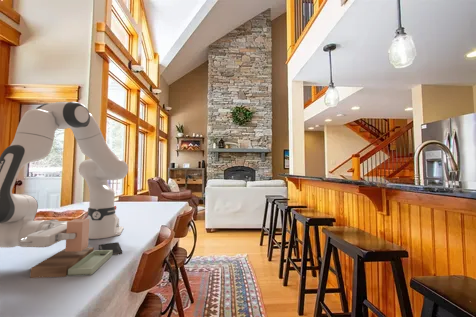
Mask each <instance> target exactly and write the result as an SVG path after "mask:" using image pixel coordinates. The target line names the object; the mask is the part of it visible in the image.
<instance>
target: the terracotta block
mask: <svg viewBox="0 0 476 317" xmlns="http://www.w3.org/2000/svg"><path fill="white" fill-rule="evenodd" d="M89 220H90V219H86V218H75V219H71V220H69V222H67V232H66V233H77V237H76V238H74V239H67V240H65V248H66V250H65V251H82V250H84V249H85V248H89Z"/></svg>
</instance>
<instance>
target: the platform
mask: <svg viewBox="0 0 476 317" xmlns="http://www.w3.org/2000/svg"><path fill="white" fill-rule="evenodd" d="M65 250H66V247H65V248H64V249H62V250H60V251H58V252H57V253H55V254H53V255H51V256H50V257H48V258H46V259H45V260H43V261H40V262H39V263H37V264H35V265H34V266H31V268H30V276H29V278H30V279H36V278H37V279H39V278H42V279H43V278H62V277H63V278H65V277H68V269H69V268H71V267H72V266H73V265H75V264H76V263H77V262H79V261H80V260H82V259H83V258H84V257H86V256H87V255H88V254H90V253H91V252H92V251H94V247H89V246H88V247H87V248H85V249H84V250H82V251H65Z"/></svg>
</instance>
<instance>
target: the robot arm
mask: <svg viewBox="0 0 476 317" xmlns="http://www.w3.org/2000/svg"><path fill="white" fill-rule="evenodd" d="M24 112H25V113H24V114H23V115H22V118H21V119H20V121H19V123H18V124H17V125H18V126H17V128H16V132H15V135H14V138H13V140H12V142H11V144H10V145H9V146H7V147H6V148H5V149H4V150H3V152H2V153H1V154H0V248H5V249H6V248H9V249H10V248H16V247H21V248H48V247H52V246H53V245H54V244H57V243H58V242H61V241H66V240H67V239H74V238H76V237H77V233H66V232H67V222H69V221H70V220H69V221H68V220H59V219H48V220H47V219H46V220H35V219H36V216H37V215H36V214H37V212H38V209H39V208H38V207H39V204H38V200H37V199H36V198H35V197H34V196H32V195H29V194H21V193H13V189H14V186H15V184H16V181H17V179H18V177H19V174H20V171H21V170H22V169H23V167H25V166H26V165H27V164H29V163H32V162H33V163H34V162H38V161H41V160H43V159H45V158H47V157H49V154H50V152H51V150H52V148H53V144H54V140H55V133H56V131H57V130H65V129H66V130H67V129H70V130H71V131H72V134H73V137H74V138H75V140H76V141H75V142H77V145H78V147H79V149H80V151H81V153H82V154H83V155H85V156H86V157H87V158H88V159H85V160H82V161H81V162H80V164H79V166H78V172H79V175H80V176H81V177H82V178H83V179H84V180H85V183H86V184H87V187H88V192H89V202H88V203H89V205H88V208H87V209H88V210H87V217H86V218H85V219H90V220H89V239H91V240H94V239H96V240H97V239H106V238H111V237H115V236H116V237H117V236H120V235H121V234H122V233H123V230H124V226H121V225H120V218H119V217H118V216H117V214H116V210H117V205H115V194H116V192H115V191H114V189H113V188H112V187H110V186H109V183H108V181H116V180H117V181H118V180H122V179H124V178H126V176H127V175H128V172H129V166H128V163H127V162H126V161H125V160H123V159H121V158H120V157H118V155H116V154H115V153H114V152H113V151H112V149H111V148H110V147H109V145H108V144H107V142H106V140H105V138H104V135H103V132H102V130H101V129H100V126H99V123H98V122H97V121H96V119H95V117H94V116H93V114H92V113H90V111H89V109H88V108H87V106H85V105H84V104H83V103H81V102H76V101H57V102H53V103H52V102H51V103H44V104H41V105H39V106H37V107H36V108H32V109H31V108H30V109H29V110H27V111H24ZM89 239H88V240H89Z"/></svg>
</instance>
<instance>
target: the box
mask: <svg viewBox="0 0 476 317" xmlns="http://www.w3.org/2000/svg"><path fill="white" fill-rule="evenodd" d="M100 254H106V255H100ZM112 254H113V250H99V249H98V250H96V249H95V250H94V251H92V252H91V253H90V254H88V255H87V256H86V257H84V258H83V259H82V260H80V261H79V262H77V263H76V264H75V265H73V266H72V267H71V268H69V269H68V275H67V277H71V276H72V277H73V276H92V275H93V274H94V273H95V272H96V271H98V270H99V269H100V268H101V267H102V266H103V265H104V264H105V263H106V262H107V261H108V260H109V259H111V257H112V256H113V255H112Z"/></svg>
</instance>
